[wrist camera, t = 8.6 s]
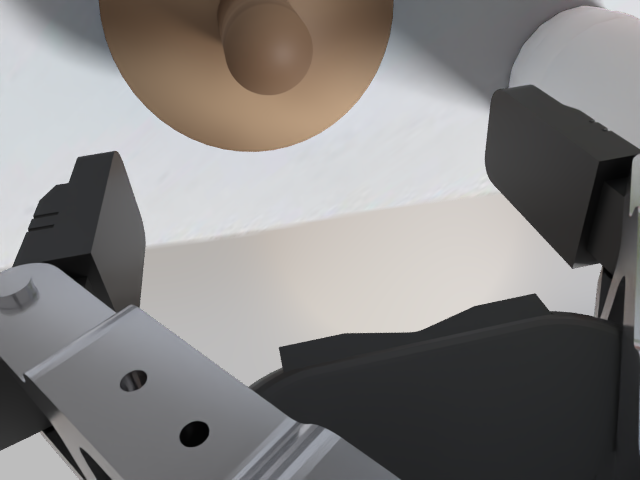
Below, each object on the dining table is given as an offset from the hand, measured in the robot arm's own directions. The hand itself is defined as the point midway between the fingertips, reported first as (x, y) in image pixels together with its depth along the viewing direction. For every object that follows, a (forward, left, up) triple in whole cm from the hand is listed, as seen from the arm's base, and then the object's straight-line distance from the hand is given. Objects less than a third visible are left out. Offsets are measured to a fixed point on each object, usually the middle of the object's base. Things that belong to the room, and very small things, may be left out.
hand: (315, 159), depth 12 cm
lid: (0, 0, -14) cm, 14 cm away
